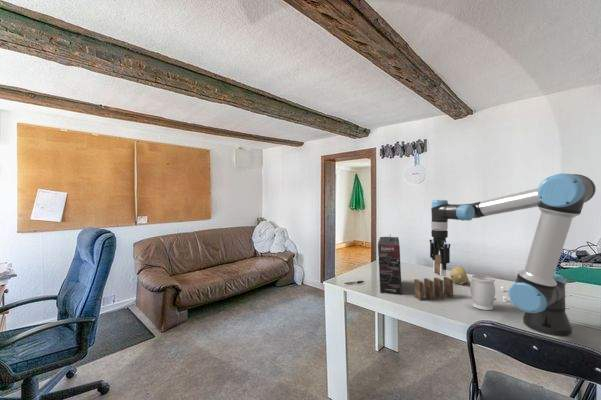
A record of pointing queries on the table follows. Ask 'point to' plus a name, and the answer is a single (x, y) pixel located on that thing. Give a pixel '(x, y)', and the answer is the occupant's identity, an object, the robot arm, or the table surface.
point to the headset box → (389, 265)
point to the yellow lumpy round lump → (459, 275)
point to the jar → (482, 291)
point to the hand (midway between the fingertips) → (439, 274)
